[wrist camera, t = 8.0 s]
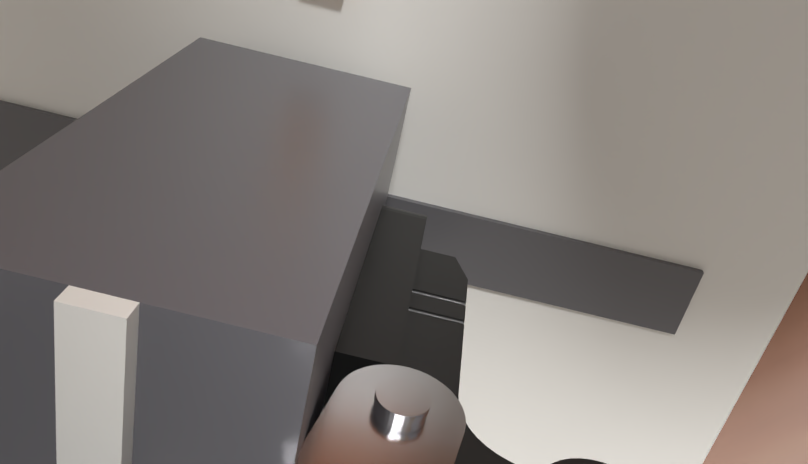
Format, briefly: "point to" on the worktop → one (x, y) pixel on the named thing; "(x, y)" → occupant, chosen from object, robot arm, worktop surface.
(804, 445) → the worktop surface
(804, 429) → the worktop surface
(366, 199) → the fader cap
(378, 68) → the console board
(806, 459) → the worktop surface
